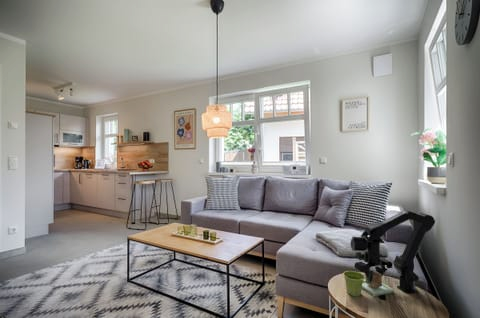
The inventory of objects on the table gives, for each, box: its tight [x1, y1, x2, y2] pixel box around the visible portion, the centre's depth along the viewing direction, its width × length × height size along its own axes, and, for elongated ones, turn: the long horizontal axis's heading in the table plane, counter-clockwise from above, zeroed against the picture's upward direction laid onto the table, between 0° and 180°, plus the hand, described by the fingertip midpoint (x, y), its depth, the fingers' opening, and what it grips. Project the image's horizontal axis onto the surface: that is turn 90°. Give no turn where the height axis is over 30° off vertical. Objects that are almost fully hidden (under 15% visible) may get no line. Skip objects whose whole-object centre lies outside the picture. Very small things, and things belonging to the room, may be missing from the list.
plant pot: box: [342, 270, 366, 297], centre depth 118 cm, size 9×9×9 cm
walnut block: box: [365, 269, 383, 288], centre depth 122 cm, size 5×5×6 cm
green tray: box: [361, 278, 394, 297], centre depth 122 cm, size 12×12×2 cm
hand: (373, 282), depth 122 cm, fingers closed on walnut block, 5 cm apart
